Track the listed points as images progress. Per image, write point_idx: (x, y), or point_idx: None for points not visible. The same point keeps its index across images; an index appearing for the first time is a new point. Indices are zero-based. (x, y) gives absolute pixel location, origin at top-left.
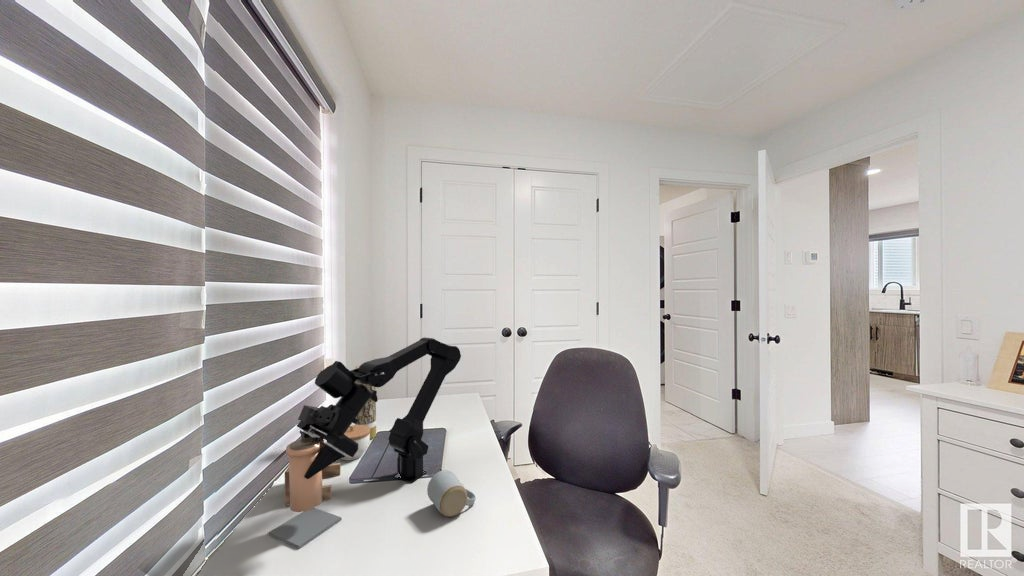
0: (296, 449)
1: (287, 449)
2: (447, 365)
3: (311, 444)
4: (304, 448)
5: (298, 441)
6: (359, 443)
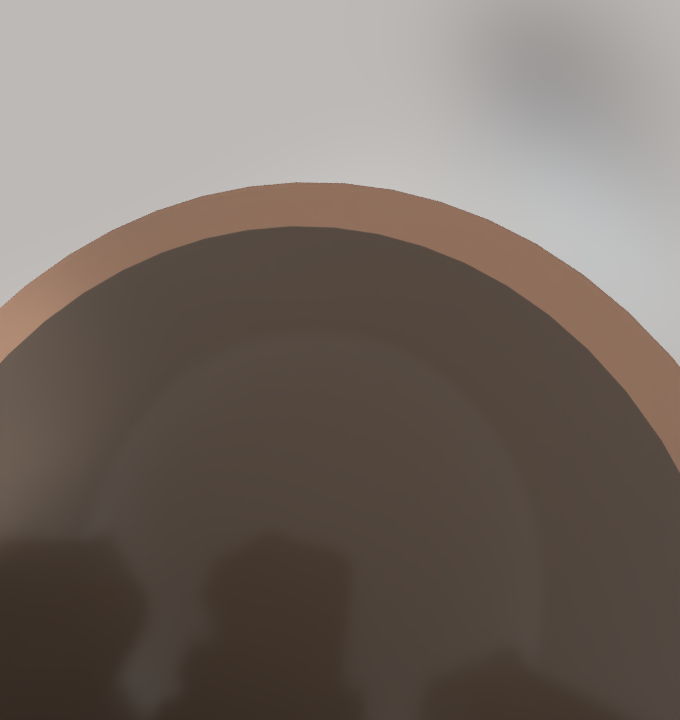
0: (169, 254)
1: (401, 204)
2: None
3: (12, 624)
4: (21, 360)
5: (632, 628)
6: None
